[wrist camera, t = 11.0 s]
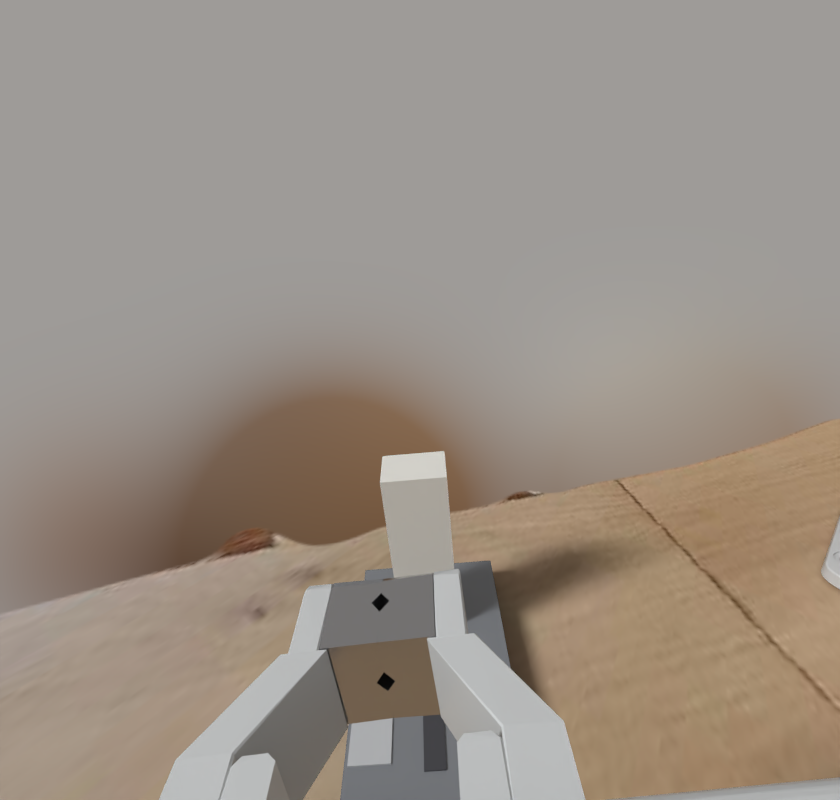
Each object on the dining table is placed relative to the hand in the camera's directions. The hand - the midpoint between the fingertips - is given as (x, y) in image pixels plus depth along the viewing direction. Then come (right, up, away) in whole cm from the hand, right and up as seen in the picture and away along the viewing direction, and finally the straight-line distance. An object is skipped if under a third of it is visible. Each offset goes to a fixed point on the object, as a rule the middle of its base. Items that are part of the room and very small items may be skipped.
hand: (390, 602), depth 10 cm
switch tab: (+1, -11, +28) cm, 30 cm away
